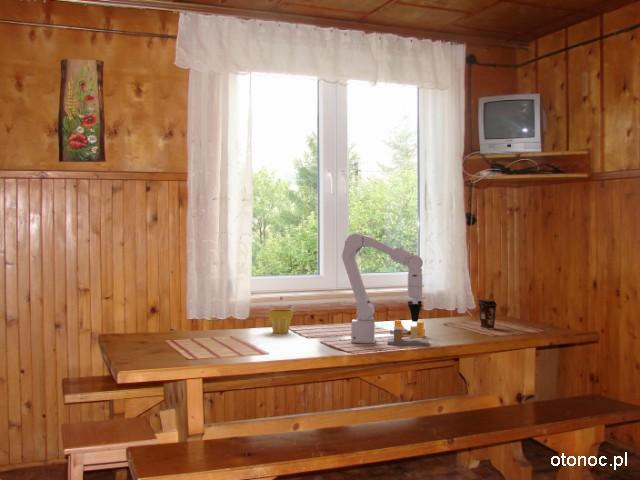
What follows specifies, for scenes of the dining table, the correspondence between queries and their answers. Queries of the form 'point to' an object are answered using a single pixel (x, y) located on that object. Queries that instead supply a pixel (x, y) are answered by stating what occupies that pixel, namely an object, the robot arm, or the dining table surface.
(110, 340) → the dining table surface
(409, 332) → the pin
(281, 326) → the plant pot
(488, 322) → the coffee cup
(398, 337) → the eye block
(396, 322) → the pipe clamp
